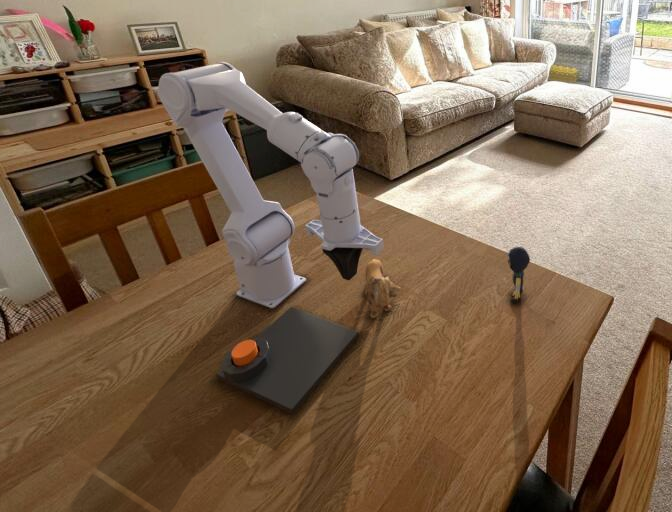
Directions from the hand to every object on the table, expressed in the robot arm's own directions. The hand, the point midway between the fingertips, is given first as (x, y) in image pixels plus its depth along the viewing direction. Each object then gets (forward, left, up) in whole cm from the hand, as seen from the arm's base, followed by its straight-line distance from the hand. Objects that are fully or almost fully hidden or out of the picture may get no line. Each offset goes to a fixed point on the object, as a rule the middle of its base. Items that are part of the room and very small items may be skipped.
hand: (350, 275), depth 70 cm
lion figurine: (+2, +4, -9) cm, 10 cm away
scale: (-4, -11, -9) cm, 14 cm away
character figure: (+26, +14, -9) cm, 31 cm away
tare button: (-8, -15, -6) cm, 18 cm away
